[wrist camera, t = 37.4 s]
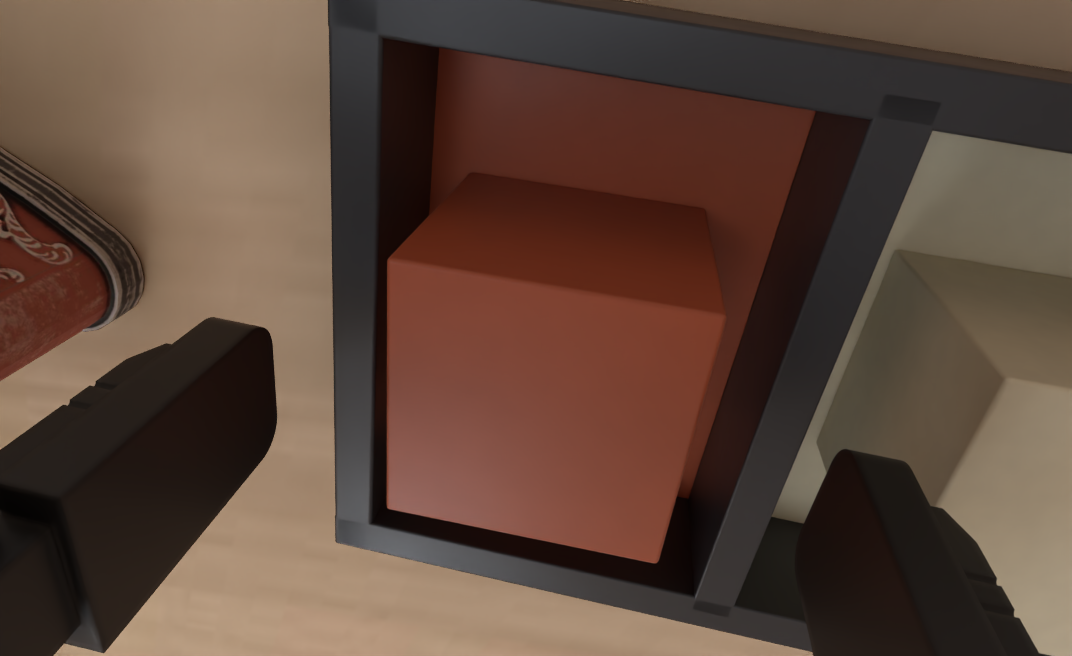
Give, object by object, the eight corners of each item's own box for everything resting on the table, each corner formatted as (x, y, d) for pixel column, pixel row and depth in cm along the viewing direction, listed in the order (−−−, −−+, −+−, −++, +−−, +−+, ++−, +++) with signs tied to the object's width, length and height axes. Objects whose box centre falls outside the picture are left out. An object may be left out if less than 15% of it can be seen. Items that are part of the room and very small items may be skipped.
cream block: (814, 442, 14) (873, 619, 10) (894, 248, 12) (1008, 378, 8) (1034, 484, 14) (1182, 685, 10) (1156, 291, 12) (1406, 450, 8)
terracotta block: (457, 369, 15) (385, 510, 11) (469, 170, 13) (385, 257, 9) (658, 405, 14) (657, 566, 11) (706, 207, 12) (728, 316, 8)
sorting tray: (393, 439, 17) (334, 543, 14) (412, -34, 12) (326, -37, 9) (1019, 574, 16) (1108, 721, 13) (1343, 115, 11) (1624, 172, 8)
